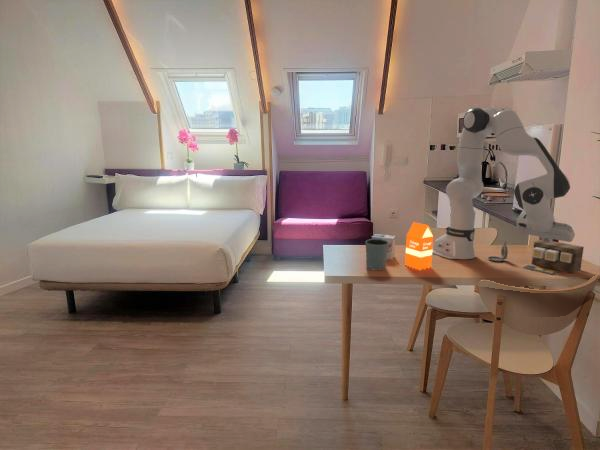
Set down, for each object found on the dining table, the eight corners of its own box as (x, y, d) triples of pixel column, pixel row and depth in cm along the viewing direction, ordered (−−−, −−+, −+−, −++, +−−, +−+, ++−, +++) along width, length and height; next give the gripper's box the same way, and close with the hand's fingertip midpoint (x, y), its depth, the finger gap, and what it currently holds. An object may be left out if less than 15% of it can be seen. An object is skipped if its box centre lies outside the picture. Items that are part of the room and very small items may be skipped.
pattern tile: (523, 267, 184) (523, 266, 184) (527, 265, 187) (528, 264, 187) (552, 274, 175) (552, 273, 175) (556, 272, 178) (557, 271, 178)
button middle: (544, 259, 181) (545, 250, 181) (551, 256, 186) (552, 248, 185) (553, 261, 178) (555, 252, 178) (560, 258, 183) (561, 249, 182)
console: (531, 263, 190) (534, 241, 188) (539, 260, 195) (541, 239, 193) (573, 273, 177) (576, 249, 175) (580, 269, 182) (583, 246, 180)
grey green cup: (382, 263, 191) (383, 238, 188) (390, 270, 181) (392, 244, 178) (361, 264, 189) (362, 239, 186) (369, 271, 179) (369, 245, 177)
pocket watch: (484, 259, 197) (486, 239, 195) (497, 257, 201) (499, 237, 198) (498, 264, 190) (501, 243, 188) (511, 261, 193) (514, 241, 191)
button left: (531, 256, 185) (532, 248, 185) (538, 254, 190) (539, 245, 189) (541, 258, 182) (542, 250, 182) (548, 256, 187) (549, 247, 186)
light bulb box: (370, 257, 200) (371, 236, 198) (373, 254, 206) (374, 233, 204) (392, 260, 196) (393, 238, 194) (394, 256, 202) (395, 235, 200)
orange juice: (419, 270, 180) (422, 226, 176) (404, 265, 188) (407, 222, 184) (431, 267, 185) (434, 224, 180) (416, 262, 192) (419, 221, 188)
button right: (559, 261, 179) (560, 252, 178) (566, 258, 183) (567, 249, 183) (569, 263, 176) (570, 254, 175) (576, 260, 180) (577, 251, 180)
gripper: (574, 218, 153) (579, 240, 161) (518, 210, 169) (525, 230, 177) (567, 231, 151) (573, 252, 159) (511, 222, 167) (519, 241, 175)
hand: (548, 240), depth 168 cm, fingers closed
